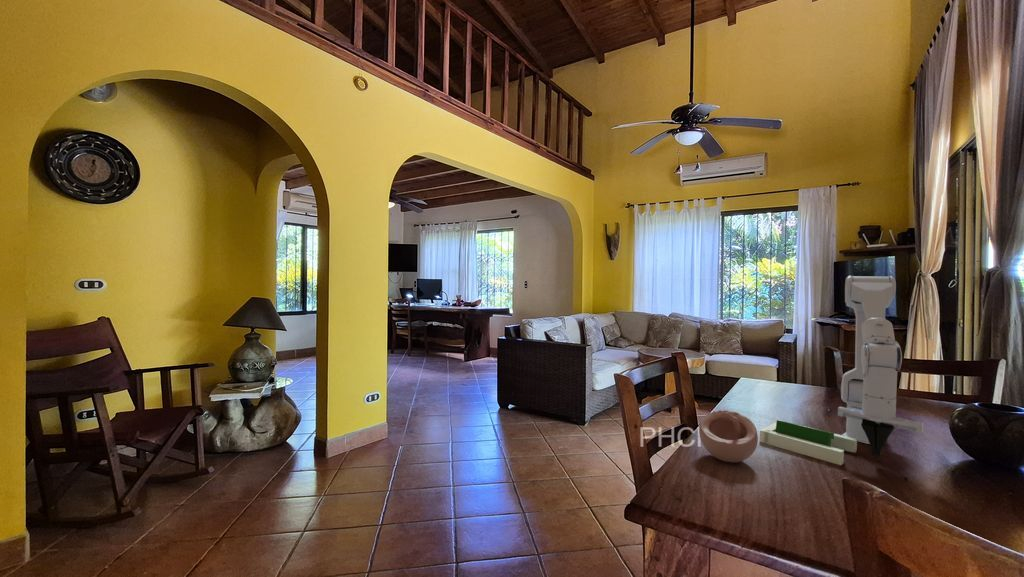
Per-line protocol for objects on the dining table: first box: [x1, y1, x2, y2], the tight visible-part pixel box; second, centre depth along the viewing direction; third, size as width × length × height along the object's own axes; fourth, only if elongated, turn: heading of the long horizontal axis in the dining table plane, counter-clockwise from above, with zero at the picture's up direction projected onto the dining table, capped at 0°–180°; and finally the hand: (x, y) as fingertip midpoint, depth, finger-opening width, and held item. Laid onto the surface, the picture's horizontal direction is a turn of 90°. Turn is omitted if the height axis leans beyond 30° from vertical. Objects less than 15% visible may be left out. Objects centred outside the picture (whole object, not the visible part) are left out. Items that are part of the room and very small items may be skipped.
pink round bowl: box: [698, 409, 759, 463], centre depth 95 cm, size 12×12×12 cm
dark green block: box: [775, 419, 835, 447], centre depth 105 cm, size 12×6×9 cm, turn 34°
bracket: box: [759, 419, 858, 466], centre depth 105 cm, size 14×17×3 cm
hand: (876, 454), depth 94 cm, fingers closed
